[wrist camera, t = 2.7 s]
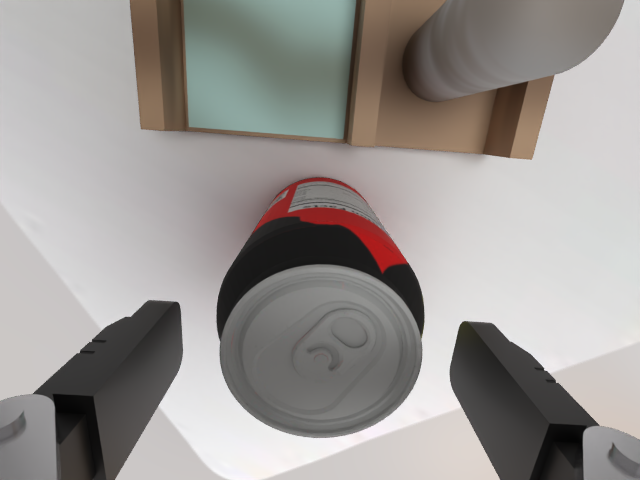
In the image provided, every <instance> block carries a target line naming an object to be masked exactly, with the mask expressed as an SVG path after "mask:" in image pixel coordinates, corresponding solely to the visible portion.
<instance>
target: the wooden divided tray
mask: <svg viewBox="0 0 640 480" xmlns="http://www.w3.org/2000/svg"><path fill="white" fill-rule="evenodd" d="M623 3H624V0H130V9H131V21H132V32H133V44H134V55H135V67H136V78H137V90H138V101H139V113H140V125H141V129H146V130H159V131H194V132H207V133H220V134H233V135H245V136H258V137H271V138H284V139H297V140H309V141H322V142H335V143H347V144H349V145H351V146H364V147H374V146H386V147H399V148H412V149H424V150H437V151H450V152H463V153H475V154H486V155H493V156H500V157H507V158H518V159H531V160H532V158H533V154H534V150H535V146H536V143H537V139H538V135H539V131H540V128H541V124H542V120H543V116H544V113H545V109H546V105H547V101H548V97H549V94H550V90H551V86H552V82H553V79H554V75H555V74H559V73H562V72H564V71H567V70H569V69H571V68H573V67H575V66H577V65H578V64H580V63H581V62H582V61H584V60H585V59H587V58H588V57H589V56H590V55H591V54H592V53H593V52H595V50H596V49H597V48H598V47H599V46H600V45H601V44H602V43H603V41H604V40H605V39H606V37H607V36H608V35H609V33H610V31H611V30H612V28H613V27H614V25H615V23H616V21H617V19H618V16H619V14H620V12H621V9H622V6H623Z"/></svg>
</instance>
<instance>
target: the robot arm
mask: <svg viewBox="0 0 640 480" xmlns="http://www.w3.org/2000/svg"><path fill="white" fill-rule="evenodd" d="M182 355H183V344H182V326H181V309H180V305H179V303H178V302H171V301H155V300H149V301H147V302H146V303H145V304H144V305H143V306H142V307H141V308H140V309H139V310H138V311H136V312H135V313H134V314H133V315H132V316H131V317H124V318H122V319H120V320H119V321H117V322H115V323H113V324H111V325H109V326H107V327H106V328H104V329H103V330H102V331H101V332H100V333H99V334H98V335H97V336H96V337H95V338H94V339H92V342H89V343H88V344H87V345H86V346H85V347H84V348H82V349H81V351H80V353H77V354H76V355H75V356H74V357H73V358H71V359H70V360H69V361H68V362H67V363H66V364H65V365H64V366H63V367H61V368H60V370H58V371H57V372H56V373H55V374H54V375H53V376H52V377H51V378H49V379H48V380H47V381H46V382H45V383H44V384H43V385H42V386H41V387H40V388H38V390H36V391H35V392H34V393H33V394H29V395H20V396H15V397H11V398H7V399H4V400H1V401H0V480H115V478H116V477H117V475H118V473H119V472H120V470H121V468H122V466H123V465H124V463H125V461H126V460H127V458H128V456H129V455H130V453H131V451H132V449H133V448H134V446H135V444H136V443H137V441H138V439H139V438H140V436H141V434H142V432H143V431H144V429H145V427H146V426H147V424H148V422H149V421H150V419H151V417H152V416H153V414H154V412H155V410H156V409H157V407H158V405H159V404H160V402H161V400H162V399H163V397H164V395H165V393H166V392H167V390H168V388H169V387H170V385H171V383H172V382H173V380H174V378H175V376H176V375H177V373H178V371H179V368H180V365H181V361H182ZM450 382H451V386H452V389H453V391H454V393H455V395H456V397H457V399H458V401H459V402H460V404H461V406H462V408H463V410H464V412H465V414H466V416H467V418H468V419H469V421H470V423H471V425H472V427H473V429H474V431H475V433H476V435H477V436H478V438H479V440H480V442H481V444H482V446H483V448H484V450H485V452H486V453H487V455H488V457H489V459H490V461H491V463H492V465H493V467H494V469H495V471H496V472H497V474H498V476H499V478H500V480H640V440H639V439H637V438H635V437H634V436H631V435H629V434H627V433H624V432H622V431H619V430H616V429H613V428H609V427H604V426H599V424H598V423H597V422H596V421H595V420H594V419H593V418H592V417H591V416H590V415H589V414H588V413H587V412H586V411H585V410H584V409H583V408H582V407H581V406H580V405H579V404H578V403H577V402H576V401H575V400H574V399H573V398H572V397H571V396H570V394H569V393H568V392H567V391H566V390H565V389H564V388H563V387H562V386H561V385H560V384H559V383H556V380H555V379H554V378H553V377H552V376H551V375H550V374H549V373H548V372H547V371H544V368H543V367H542V366H541V364H540V363H539V362H538V361H537V360H536V359H535V358H534V357H533V356H532V355H531V354H530V353H528V352H526V351H525V350H523V349H522V348H520V347H519V346H517V345H516V344H514V343H513V342H510V341H509V340H508V339H507V338H506V337H505V336H504V335H503V334H502V333H501V332H500V330H499V329H498V328H497V327H496V326H495V325H494V324H492V323H485V322H469V321H464V322H462V323H461V325H460V327H459V330H458V335H457V339H456V343H455V348H454V352H453V356H452V361H451V365H450Z"/></svg>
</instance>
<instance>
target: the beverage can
mask: <svg viewBox="0 0 640 480" xmlns="http://www.w3.org/2000/svg"><path fill="white" fill-rule="evenodd" d="M423 329H424V303H423V296H422V292H421V288H420V285H419V282H418V280H417V278H416V276H415V273H414V272H413V270H412V268H411V267H410V265H409V264H408V262H407V261H406V259H405V258H404V256H403V255H402V253H401V252H400V250H399V249H398V247H397V246H396V244H395V243H394V242H393V240H392V239H391V237H390V236H389V234H388V233H387V231H386V230H385V228H384V227H383V225H382V224H381V222H380V221H379V220H378V218H377V217H376V215H375V214H374V212H373V211H372V209H371V208H370V206H369V205H368V203H367V202H366V201H365V199H364V198H363V197H362V196H361V195H360V194H359V193H358V192H357V191H356V190H355V189H353V188H352V187H350V186H349V185H347V184H345V183H343V182H341V181H338V180H334V179H330V178H309V179H304V180H301V181H298V182H296V183H294V184H292V185H290V186H288V187H287V188H285V189H284V190H283V191H282V192H280V193H279V194H278V195H277V196H276V198H275V199H274V200H273V202H272V203H271V205H270V206H269V208H268V209H267V211H266V212H265V214H264V216H263V217H262V219H261V220H260V222H259V223H258V225H257V226H256V228H255V230H254V231H253V233H252V234H251V236H250V237H249V239H248V241H247V242H246V244H245V245H244V247H243V248H242V250H241V251H240V253H239V255H238V256H237V258H236V259H235V261H234V262H233V264H232V265H231V267H230V269H229V270H228V272H227V274H226V276H225V278H224V280H223V283H222V285H221V288H220V292H219V296H218V302H217V330H218V335H219V339H220V364H221V369H222V373H223V376H224V379H225V381H226V383H227V386H228V388H229V389H230V391H231V393H232V394H233V396H234V397H235V398H236V400H237V401H238V402H239V403H240V404H241V406H242V407H243V408H244V409H245V410H247V411H248V412H249V413H250V414H251V415H252V416H254V417H255V418H256V419H258V420H260V421H261V422H263V423H264V424H266V425H268V426H270V427H272V428H275V429H277V430H280V431H282V432H286V433H289V434H293V435H297V436H303V437H312V438H329V437H338V436H344V435H348V434H352V433H355V432H359V431H361V430H364V429H366V428H369V427H371V426H373V425H375V424H377V423H378V422H380V421H381V420H383V419H385V418H386V417H387V416H389V415H390V414H391V413H392V412H394V411H395V410H396V409H397V408H398V407H399V406H400V405H401V404H402V403H403V402H404V400H405V399H406V398H407V396H408V395H409V393H410V392H411V390H412V389H413V387H414V385H415V383H416V380H417V378H418V375H419V372H420V368H421V362H422V341H421V338H422V334H423Z"/></svg>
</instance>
